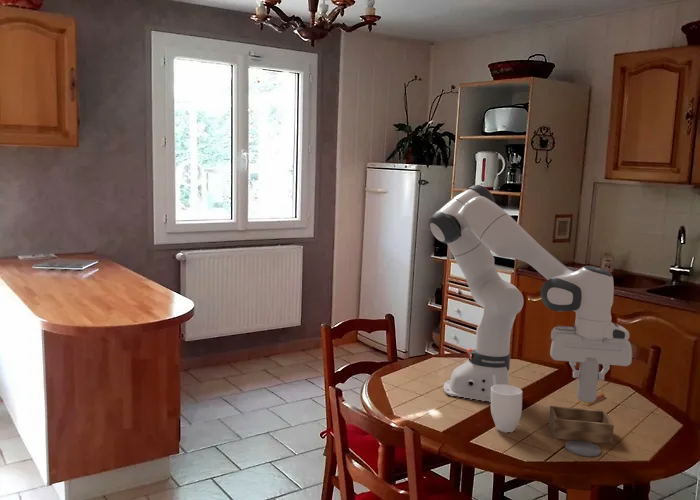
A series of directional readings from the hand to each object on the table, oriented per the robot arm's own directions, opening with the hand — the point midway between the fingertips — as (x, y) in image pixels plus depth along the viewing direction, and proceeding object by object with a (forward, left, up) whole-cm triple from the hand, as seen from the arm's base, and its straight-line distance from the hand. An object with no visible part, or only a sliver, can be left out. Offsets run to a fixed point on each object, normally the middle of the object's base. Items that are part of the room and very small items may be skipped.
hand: (588, 378), depth 167 cm
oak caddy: (+1, +11, -20) cm, 23 cm away
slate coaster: (0, 0, -20) cm, 20 cm away
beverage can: (0, 0, -6) cm, 6 cm away
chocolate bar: (+11, +40, -20) cm, 46 cm away
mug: (-20, +10, -20) cm, 30 cm away
